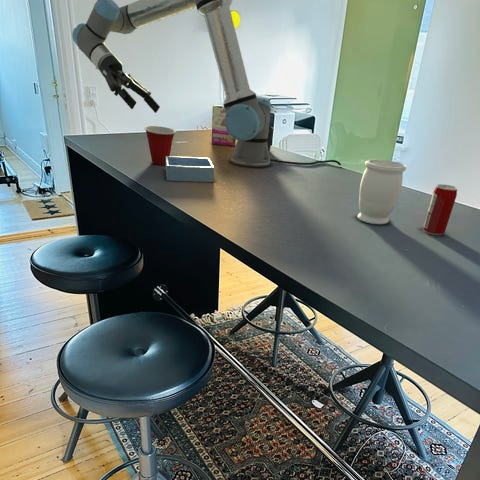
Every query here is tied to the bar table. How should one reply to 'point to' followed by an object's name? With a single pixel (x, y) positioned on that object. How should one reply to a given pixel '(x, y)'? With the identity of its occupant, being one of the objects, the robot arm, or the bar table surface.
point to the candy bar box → (220, 128)
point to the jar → (379, 190)
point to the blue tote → (189, 169)
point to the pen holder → (269, 137)
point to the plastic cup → (159, 143)
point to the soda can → (440, 209)
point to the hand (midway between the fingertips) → (146, 107)
